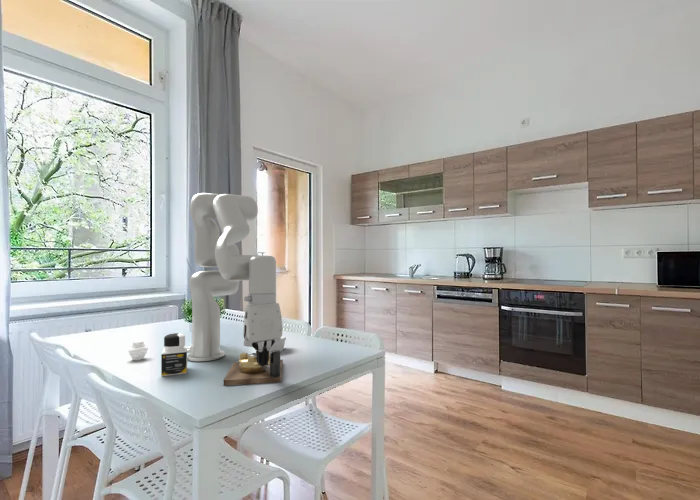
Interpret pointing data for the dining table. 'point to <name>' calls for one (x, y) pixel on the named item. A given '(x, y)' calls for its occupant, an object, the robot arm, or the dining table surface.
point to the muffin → (138, 350)
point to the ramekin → (278, 344)
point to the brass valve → (251, 366)
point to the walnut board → (248, 376)
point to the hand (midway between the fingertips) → (262, 364)
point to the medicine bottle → (174, 355)
